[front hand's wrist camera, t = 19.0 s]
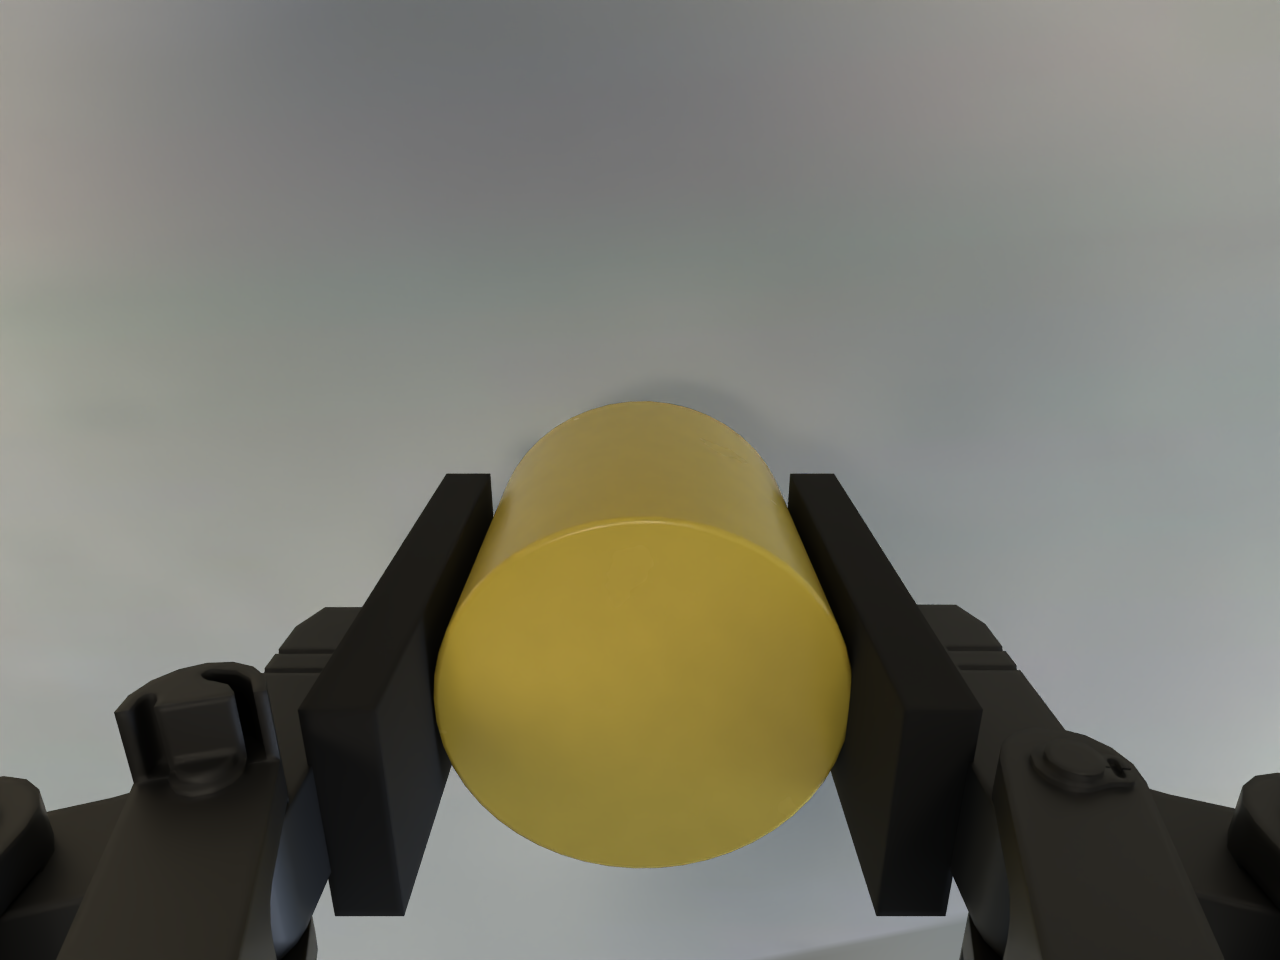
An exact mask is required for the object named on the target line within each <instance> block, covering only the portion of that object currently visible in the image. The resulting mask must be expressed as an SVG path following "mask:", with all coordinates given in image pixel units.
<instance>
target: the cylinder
mask: <svg viewBox="0 0 1280 960" xmlns="http://www.w3.org/2000/svg"><path fill="white" fill-rule="evenodd" d="M851 672H852V670H851V664H850V660H849V655H848V651H847V647H846V644H845V642H844V639H843V637H842V634H841V632H840V629H839V626H838V624H837V622H836V619H835V617H834V615H833V612H832V610H831V608H830V605H829V603H828V601H827V598H826V596H825V594H824V592H823V589H822V587H821V585H820V582H819V580H818V578H817V575H816V573H815V571H814V568H813V566H812V564H811V561H810V559H809V557H808V554H807V552H806V550H805V547H804V545H803V543H802V540H801V538H800V536H799V534H798V531H797V529H796V527H795V524H794V522H793V520H792V517H791V515H790V513H789V510H788V508H787V506H786V503H785V501H784V499H783V496H782V494H781V492H780V489H779V487H778V485H777V483H776V480H775V478H774V477H773V475H772V473H771V471H770V470H769V468H768V466H767V465H766V463H765V462H764V461H763V459H762V458H761V457H760V455H759V454H758V453H757V452H756V450H755V449H754V448H753V447H752V446H751V445H750V444H749V443H748V442H747V441H746V440H744V439H743V438H742V437H741V436H740V435H739V434H737V433H736V432H735V431H733V430H732V429H731V428H729V427H728V426H726V425H725V424H723V423H721V422H719V421H718V420H716V419H714V418H712V417H710V416H708V415H706V414H703V413H701V412H698V411H695V410H693V409H690V408H686V407H682V406H678V405H674V404H670V403H661V402H652V401H637V402H624V403H617V404H610V405H606V406H602V407H599V408H595V409H592V410H589V411H586V412H584V413H582V414H579V415H577V416H575V417H572V418H570V419H569V420H567V421H565V422H564V423H562V424H560V425H558V426H557V427H555V428H554V429H553V430H551V431H550V432H549V433H547V434H546V435H545V436H544V437H542V438H541V439H540V440H539V441H538V442H537V443H536V444H535V445H534V446H533V447H532V448H531V449H530V450H529V451H528V452H527V453H526V455H525V456H524V457H523V459H522V460H521V461H520V463H519V464H518V466H517V467H516V469H515V470H514V472H513V474H512V476H511V478H510V480H509V482H508V483H507V486H506V488H505V491H504V493H503V495H502V498H501V500H500V503H499V505H498V507H497V510H496V512H495V515H494V517H493V519H492V522H491V524H490V526H489V529H488V531H487V534H486V536H485V538H484V541H483V543H482V546H481V548H480V550H479V553H478V555H477V558H476V560H475V562H474V565H473V567H472V569H471V572H470V574H469V577H468V579H467V581H466V584H465V586H464V589H463V591H462V593H461V596H460V598H459V601H458V603H457V605H456V608H455V610H454V613H453V615H452V617H451V620H450V622H449V624H448V627H447V629H446V632H445V635H444V638H443V640H442V643H441V646H440V649H439V652H438V656H437V662H436V667H435V672H434V691H433V700H434V708H435V716H436V722H437V726H438V729H439V732H440V736H441V739H442V743H443V746H444V748H445V750H446V753H447V755H448V757H449V759H450V761H451V764H452V766H453V768H454V769H455V771H456V772H457V774H458V775H459V777H460V778H461V780H462V782H463V783H464V785H465V786H466V787H467V789H468V790H469V791H470V792H471V793H472V794H473V796H474V797H475V798H476V799H477V800H478V802H479V803H480V804H481V805H482V806H483V807H485V808H486V809H487V810H488V811H489V812H490V813H491V814H492V815H493V816H494V817H496V818H497V819H498V820H499V821H501V822H502V823H503V824H505V825H506V826H508V827H509V828H510V829H512V830H513V831H515V832H516V833H517V834H519V835H521V836H523V837H525V838H526V839H528V840H530V841H532V842H534V843H536V844H537V845H539V846H542V847H544V848H547V849H549V850H551V851H554V852H556V853H559V854H561V855H564V856H568V857H571V858H574V859H578V860H581V861H585V862H590V863H595V864H600V865H606V866H614V867H625V868H662V867H671V866H680V865H686V864H691V863H696V862H700V861H705V860H709V859H712V858H715V857H718V856H721V855H724V854H727V853H730V852H733V851H735V850H737V849H739V848H741V847H744V846H746V845H748V844H750V843H753V842H754V841H756V840H758V839H759V838H761V837H763V836H765V835H766V834H768V833H770V832H771V831H773V830H775V829H776V828H777V827H779V826H780V825H781V824H782V823H784V822H785V821H786V820H788V819H789V818H790V817H792V816H793V815H794V814H795V813H796V812H797V811H798V810H799V809H800V808H801V807H802V806H803V805H804V804H805V803H806V802H807V801H809V800H810V798H811V797H812V796H813V795H814V793H815V792H816V791H817V790H818V788H819V787H820V786H821V785H822V783H823V782H824V781H825V779H826V777H827V776H828V774H829V772H830V771H831V769H832V767H833V766H834V764H835V762H836V760H837V758H838V755H839V753H840V751H841V748H842V746H843V743H844V741H845V736H846V728H847V720H848V711H849V702H850V692H851Z"/></svg>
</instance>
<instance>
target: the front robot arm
mask: <svg viewBox="0 0 1280 960" xmlns="http://www.w3.org/2000/svg"><path fill="white" fill-rule="evenodd" d="M788 510H789V513H790V515H791V517H792V520H793V522H794V524H795V527H796V529H797V531H798V534H799V536H800V538H801V540H802V543H803V545H804V547H805V550H806V552H807V554H808V557H809V559H810V561H811V564H812V566H813V568H814V571H815V573H816V575H817V578H818V580H819V582H820V585H821V587H822V589H823V592H824V594H825V596H826V598H827V601H828V603H829V605H830V608H831V610H832V612H833V615H834V617H835V619H836V622H837V624H838V626H839V629H840V632H841V634H842V637H843V639H844V642H845V644H846V647H847V651H848V655H849V660H850V664H851V670H852V672H851V692H850V702H849V711H848V720H847V728H846V736H845V741H844V743H843V746H842V748H841V751H840V753H839V755H838V758H837V760H836V762H835V764H834V766H833V767H832V769H831V773H832V776H833V780H834V783H835V786H836V789H837V792H838V795H839V799H840V802H841V805H842V808H843V811H844V815H845V818H846V821H847V824H848V827H849V830H850V834H851V837H852V840H853V843H854V846H855V849H856V853H857V856H858V859H859V862H860V865H861V868H862V872H863V875H864V878H865V881H866V884H867V887H868V891H869V894H870V897H871V900H872V903H873V907H874V910H875V913H876V916H946V910H947V905H948V899H949V894H950V888H951V883H952V877H954V880H955V882H956V884H957V886H958V889H959V891H960V893H961V895H962V898H963V900H964V902H965V905H966V907H967V909H968V911H969V913H968V918H967V923H966V928H965V933H964V938H963V943H962V948H961V954H960V959H959V960H1280V773H1272V774H1265V775H1258V776H1255V777H1253V778H1252V779H1251V780H1250V781H1248V782H1247V783H1246V784H1245V785H1243V787H1242V790H1241V793H1240V796H1239V799H1238V802H1237V805H1236V808H1235V809H1234V808H1230V807H1225V806H1220V805H1216V804H1211V803H1206V802H1202V801H1197V800H1192V799H1188V798H1183V797H1179V796H1174V795H1169V794H1166V793H1162V792H1159V791H1155V790H1152V789H1149V787H1148V785H1147V783H1146V781H1145V780H1144V778H1143V777H1142V776H1141V774H1140V773H1139V772H1138V770H1137V769H1136V767H1135V766H1134V765H1133V764H1132V763H1131V762H1130V761H1128V760H1127V759H1126V758H1124V757H1123V756H1122V755H1120V754H1119V753H1118V752H1116V751H1115V750H1114V749H1113V748H1111V747H1109V746H1107V745H1105V744H1103V743H1100V742H1098V741H1096V740H1094V739H1092V738H1090V737H1088V736H1086V735H1082V734H1078V733H1074V732H1070V731H1066V730H1065V729H1064V728H1063V726H1062V725H1061V724H1060V722H1059V721H1058V720H1057V718H1056V717H1055V716H1054V714H1053V713H1052V712H1051V711H1050V709H1049V708H1048V707H1047V705H1046V704H1045V703H1044V701H1043V700H1042V699H1041V697H1040V696H1039V695H1038V693H1037V692H1036V691H1035V689H1034V688H1033V687H1032V685H1031V684H1030V683H1029V681H1028V680H1027V679H1026V677H1025V676H1024V675H1023V673H1022V672H1021V671H1020V670H1017V668H1016V664H1015V663H1014V662H1013V660H1012V659H1011V658H1010V656H1009V655H1008V654H1007V652H1006V651H1003V650H1002V646H1001V644H1000V643H999V642H998V640H997V639H996V638H995V636H994V635H993V634H992V632H991V631H990V630H989V628H988V627H987V626H986V624H984V623H983V622H981V621H980V620H978V619H977V618H975V617H974V616H972V615H971V614H969V613H968V612H966V611H965V610H963V609H962V608H960V607H959V606H957V605H917V604H916V603H915V601H914V600H913V598H912V596H911V595H910V593H909V592H908V590H907V588H906V587H905V585H904V584H903V582H902V581H901V579H900V577H899V576H898V574H897V573H896V571H895V569H894V568H893V566H892V565H891V563H890V562H889V560H888V558H887V557H886V555H885V554H884V552H883V551H882V549H881V547H880V546H879V544H878V543H877V541H876V539H875V538H874V536H873V535H872V533H871V532H870V530H869V528H868V527H867V525H866V524H865V522H864V520H863V519H862V517H861V516H860V514H859V513H858V511H857V509H856V508H855V506H854V505H853V503H852V501H851V500H850V498H849V497H848V495H847V494H846V492H845V490H844V489H843V487H842V486H841V484H840V482H839V481H838V479H837V478H836V476H835V475H834V474H790V484H789V498H788ZM492 519H493V505H492V491H491V477H490V474H446V475H445V477H444V479H443V480H442V482H441V483H440V485H439V486H438V488H437V490H436V491H435V493H434V494H433V496H432V498H431V499H430V501H429V502H428V504H427V505H426V507H425V509H424V510H423V512H422V513H421V515H420V517H419V518H418V520H417V521H416V523H415V524H414V526H413V528H412V529H411V531H410V532H409V534H408V536H407V537H406V539H405V540H404V542H403V543H402V545H401V547H400V548H399V550H398V551H397V553H396V555H395V556H394V558H393V559H392V561H391V562H390V564H389V566H388V567H387V569H386V570H385V572H384V574H383V575H382V577H381V578H380V580H379V581H378V583H377V585H376V586H375V588H374V589H373V591H372V593H371V594H370V596H369V597H368V599H367V600H366V602H365V604H364V605H363V607H325V608H323V609H322V610H320V611H319V612H317V613H316V614H314V615H313V616H311V617H310V618H308V619H307V620H305V621H304V622H302V623H301V624H299V625H298V626H296V627H295V628H294V630H293V631H292V632H291V634H290V635H289V636H288V638H287V639H286V640H285V642H284V643H283V644H282V646H281V647H280V648H279V654H275V655H274V657H273V658H272V659H271V661H270V662H269V663H268V665H267V666H266V667H265V672H264V673H261V672H259V671H258V670H257V669H256V668H254V667H253V666H249V665H244V664H240V663H235V662H219V663H205V664H200V665H196V666H192V667H187V668H183V669H179V670H176V671H174V672H171V673H169V674H166V675H164V676H161V677H159V678H157V679H154V680H152V681H150V682H149V683H147V684H145V685H144V686H142V687H141V688H139V689H138V690H136V691H135V692H133V693H132V694H130V695H129V696H128V697H127V698H126V699H125V700H124V701H123V703H122V704H121V705H120V706H119V707H118V708H117V710H116V711H115V712H114V714H115V717H116V721H117V724H118V728H119V732H120V735H121V739H122V742H123V746H124V749H125V753H126V757H127V760H128V764H129V767H130V771H131V774H132V778H133V782H134V784H133V786H132V789H131V791H130V793H127V794H124V795H120V796H117V797H113V798H109V799H104V800H100V801H95V802H91V803H86V804H81V805H77V806H72V807H67V808H63V809H58V810H54V811H49V812H46V809H45V806H44V803H43V800H42V797H41V794H40V791H39V789H38V788H37V787H35V786H34V785H33V784H32V783H30V782H29V781H28V780H27V779H20V778H13V777H6V776H2V777H0V960H316V959H317V950H318V948H317V941H316V934H315V928H314V923H313V918H312V915H313V912H314V910H315V908H316V906H317V903H318V901H319V899H320V896H321V894H322V892H323V890H324V887H325V885H326V883H327V880H329V885H330V891H331V896H332V902H333V907H334V913H335V916H404V915H405V911H406V908H407V905H408V902H409V899H410V896H411V892H412V889H413V886H414V883H415V880H416V876H417V873H418V870H419V867H420V864H421V861H422V857H423V854H424V851H425V848H426V845H427V842H428V838H429V835H430V832H431V829H432V826H433V823H434V819H435V816H436V813H437V810H438V807H439V803H440V800H441V797H442V794H443V791H444V788H445V784H446V781H447V778H448V775H449V772H450V769H451V765H452V764H451V761H450V759H449V757H448V755H447V753H446V750H445V748H444V746H443V743H442V739H441V736H440V732H439V729H438V726H437V722H436V716H435V708H434V700H433V691H434V672H435V667H436V662H437V656H438V652H439V649H440V646H441V643H442V640H443V638H444V635H445V632H446V629H447V627H448V624H449V622H450V620H451V617H452V615H453V613H454V610H455V608H456V605H457V603H458V601H459V598H460V596H461V593H462V591H463V589H464V586H465V584H466V581H467V579H468V577H469V574H470V572H471V569H472V567H473V565H474V562H475V560H476V558H477V555H478V553H479V550H480V548H481V546H482V543H483V541H484V538H485V536H486V534H487V531H488V529H489V526H490V524H491V522H492Z"/></svg>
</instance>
